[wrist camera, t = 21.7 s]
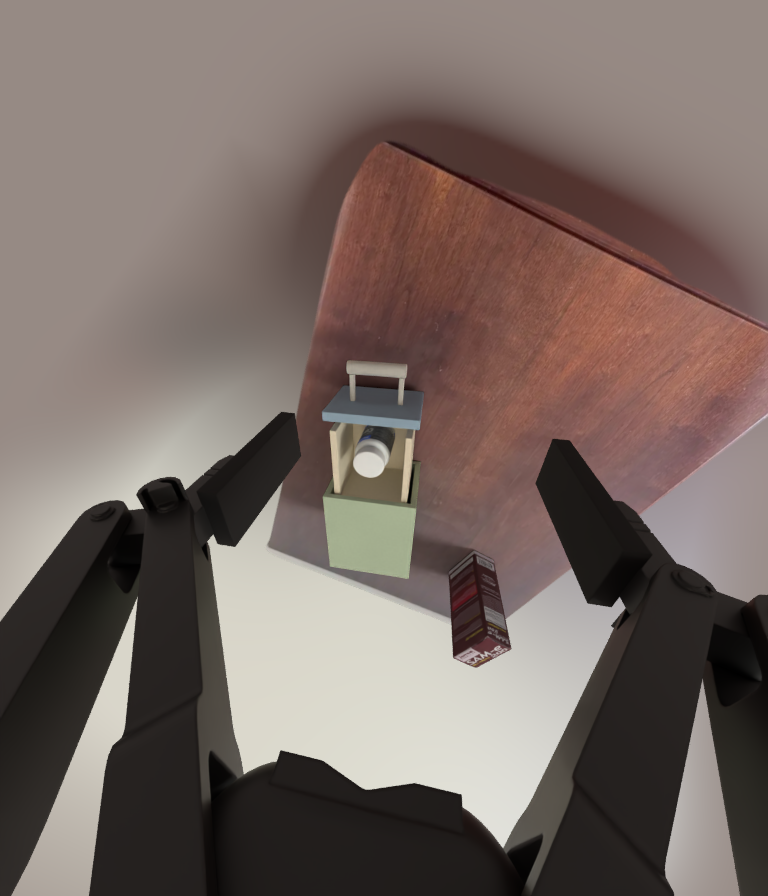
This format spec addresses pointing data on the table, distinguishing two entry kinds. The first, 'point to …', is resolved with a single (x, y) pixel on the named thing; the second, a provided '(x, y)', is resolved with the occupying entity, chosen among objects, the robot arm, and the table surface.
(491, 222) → the table surface
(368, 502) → the green box-shaped shell
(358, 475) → the drawer
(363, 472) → the pill bottle
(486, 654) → the supplement box
